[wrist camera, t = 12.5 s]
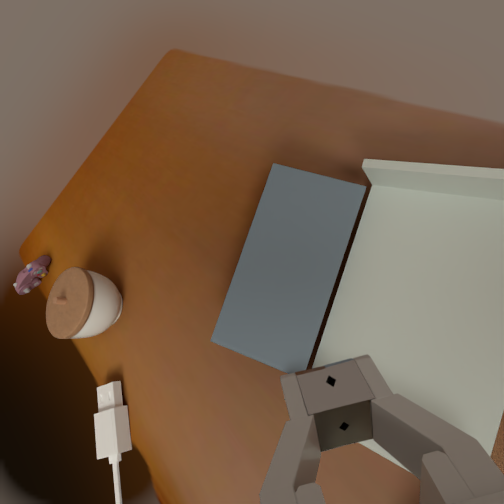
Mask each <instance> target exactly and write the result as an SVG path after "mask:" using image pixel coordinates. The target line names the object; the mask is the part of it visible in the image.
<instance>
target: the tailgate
mask: <svg viewBox="0 0 504 504" xmlns="http://www.w3.org/2000/svg"><path fill="white" fill-rule="evenodd" d="M365 190H366V186H362V185H358V184H354V183H350V182H346V181H342V180H338V179H334V178H330V177H326V176H322V175H318V174H315V173H311V172H307V171H303V170H299V169H295V168H291V167H287V166H283V165H279V164H275V163H273V165H272V168H271V171H270V174H269V177H268V180H267V182H266V185H265V188H264V191H263V194H262V197H261V199H260V202H259V205H258V208H257V211H256V213H255V216H254V219H253V222H252V225H251V228H250V230H249V233H248V236H247V239H246V242H245V245H244V247H243V250H242V253H241V256H240V259H239V262H238V264H237V267H236V270H235V273H234V276H233V279H232V281H231V284H230V287H229V290H228V293H227V295H226V298H225V301H224V304H223V307H222V310H221V312H220V315H219V318H218V321H217V324H216V327H215V329H214V332H213V335H212V338H211V341H212V342H214V343H216V344H219V345H221V346H223V347H226V348H228V349H231V350H233V351H235V352H238V353H240V354H243V355H245V356H247V357H250V358H252V359H255V360H257V361H259V362H262V363H264V364H266V365H269V366H271V367H274V368H276V369H278V370H281V371H283V372H286V373H288V374H291V373H295V372H299V371H303V370H306V368H307V365H308V362H309V359H310V356H311V353H312V350H313V347H314V344H315V341H316V338H317V335H318V332H319V329H320V326H321V323H322V320H323V317H324V314H325V311H326V308H327V305H328V302H329V298H330V295H331V292H332V289H333V286H334V283H335V280H336V277H337V274H338V271H339V268H340V265H341V262H342V259H343V256H344V253H345V250H346V247H347V244H348V241H349V238H350V235H351V232H352V229H353V226H354V223H355V220H356V217H357V214H358V211H359V208H360V205H361V202H362V199H363V196H364V193H365Z"/></svg>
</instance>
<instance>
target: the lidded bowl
mask: <svg viewBox="0 0 504 504" xmlns="http://www.w3.org/2000/svg"><path fill="white" fill-rule="evenodd" d="M122 306H123V300H122V296H121V294H120V292H119V291H118V289H117V287H116V286H115V284H114V283H113V282H112V281H111V280H110V279H108V278H107V277H105V276H103V275H101V274H99V273H96V272H93V271H89V270H85V269H83V268H79V267H72V268H69V269H67V270H65V271H64V272H63V273H62V274H61V275H60V276H59V277H58V279H57V280H56V282H55V283H54V285H53V287H52V289H51V292H50V294H49V298H48V302H47V308H46V321H47V326H48V329H49V331H50V333H51V334H52V335H53V336H54V337H56V338H60V339H68V338H86V337H92V336H95V335H98V334H100V333H102V332H104V331H105V330H107V329H108V328H109V327H110V326H111V325H113V324H114V323H115V322H116V321H117V320H118V318H119V316H120V314H121V311H122Z"/></svg>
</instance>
